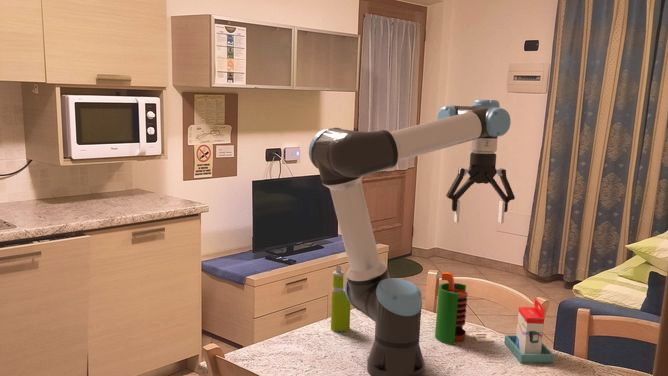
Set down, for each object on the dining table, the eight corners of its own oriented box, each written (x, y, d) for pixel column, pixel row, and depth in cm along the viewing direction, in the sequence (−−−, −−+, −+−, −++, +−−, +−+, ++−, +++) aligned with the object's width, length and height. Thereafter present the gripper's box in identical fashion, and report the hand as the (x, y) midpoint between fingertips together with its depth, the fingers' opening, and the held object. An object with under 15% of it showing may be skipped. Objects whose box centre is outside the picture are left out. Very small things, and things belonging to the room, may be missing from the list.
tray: (520, 363, 159) (521, 354, 158) (504, 343, 172) (504, 335, 171) (553, 363, 159) (554, 354, 159) (534, 343, 172) (535, 335, 172)
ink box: (514, 344, 170) (518, 296, 167) (531, 345, 170) (535, 297, 167) (523, 357, 161) (528, 307, 159) (541, 358, 161) (546, 308, 159)
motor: (465, 346, 169) (469, 280, 166) (434, 342, 171) (438, 277, 167) (464, 332, 179) (468, 270, 176) (435, 329, 180) (439, 267, 177)
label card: (477, 341, 172) (477, 340, 172) (471, 333, 178) (471, 332, 178) (493, 341, 172) (493, 340, 172) (487, 333, 178) (487, 332, 178)
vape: (330, 326, 180) (331, 264, 177) (349, 326, 181) (351, 265, 177) (330, 331, 177) (332, 268, 174) (350, 331, 177) (352, 268, 174)
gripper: (445, 152, 167) (440, 224, 170) (529, 154, 168) (523, 225, 172) (439, 150, 174) (435, 218, 178) (519, 151, 176) (514, 220, 179)
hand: (478, 222), depth 175 cm, fingers open, 13 cm apart
